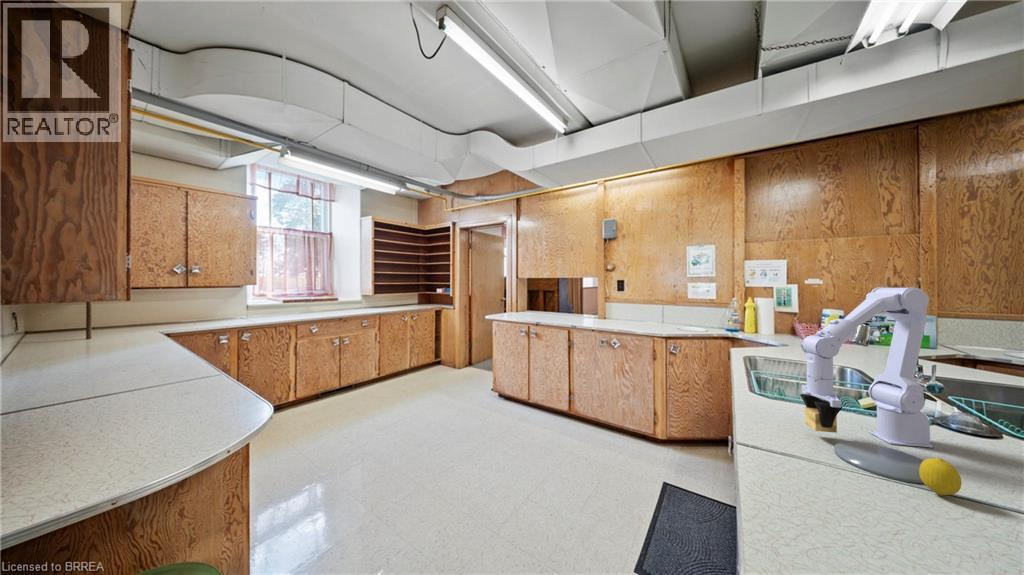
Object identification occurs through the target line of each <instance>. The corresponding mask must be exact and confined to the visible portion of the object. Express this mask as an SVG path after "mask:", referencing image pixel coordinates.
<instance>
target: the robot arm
mask: <svg viewBox="0 0 1024 575" xmlns="http://www.w3.org/2000/svg"><path fill="white" fill-rule="evenodd" d="M865 297H866V298H865V299H864V300H863V301H862V302H861V303H860V304H858V306H856V307H855V308H854V309H853V310H852V311H851V312H849V314H847V315H846V316H845V317H843V318H835V319H831V320H829V323H828V324H827V325H826V326H825V327H823V328H822V329H821V330H818V331H816V333H815V334H813V335H808V336H806V337H804V339H803V340H802V342H801V343H800V348H801V351H802V352H803V353H804V357H805V360H806V384H801V392H802V393H800V394H799V396H800V398H801V400H802V401H803V403H804V405H805V406H806V408H817V409H818V412H819V416H820V422H821V426H822V427H825V428H832V426H833V423H834V420H835V418H836V416H838V414H839V413H840V412H841V411H842V409H843V406H842V400H840V399H839V398H838V397H837V395H836V394H835V393H834V357H835V356H837V355H838V354H839V352H840V348H841V347H842V345H843V344H844V343H845V342H847V341H849V340H850V339H851V338H853V337H854V336H855V335H856V334H857V333H858V329H857V327H859V326H860V325H863V324H864V323H865V322H867V321H868V320H870V319H872V318H873V317H875V316H876V315H878V314H880V313H881V312H883V313H886V314H887V315H889V316H890V317H891V318H893V319H894V320H895V323H894V329H893V334H892V336H891V337H892V338H891V342H890V347H889V351H888V356H887V361H886V364H885V368H884V372H883V373H879V374H877V375H876V376H874V380H873V382H872V383H871V384H870V386H869V387H868V396H869V397H870V399H872V401H874V403H873V404H874V405H875V406H876V430H868V433H870V434H872V435H873V436H875V437H876V438H879V439H881V440H882V441H884V442H886V443H887V444H890V445H900V446H911V447H924V448H933V445H932V444H931V423H930V420H929V418H928V416H927V415H926V414H925V413H924V412H922V410H923V409H924V406H925V404H926V403H925V397H924V390H925V388H924V387H923V386H922V385H920V383H918V381H917V380H916V379H915V378H914V377H915V373H916V369H917V364H918V360H919V355H920V350H921V346H922V341H923V338H924V332H925V328H926V324H927V318H928V317H927V310H928V306H929V301H930V297H929V296H928V295H927V294H926V293H925V291H923V290H922V289H921V288H919V287H915V286H910V287H885V286H878V287H876V288H874V289H872V290H871V292H868V293H867V294H866V296H865Z"/></svg>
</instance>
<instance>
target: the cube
mask: <svg viewBox="0 0 1024 575" xmlns="http://www.w3.org/2000/svg"><path fill="white" fill-rule="evenodd" d="M804 414H805V416H804V417H805V418H804V419H805V420H804V421H805V422H804V424H805V425H806V426H808V427H809V428H811V429H812V430H813V431H814V432H822V433H823V432H825V433H834V434H835V433H836V434H837V432H838V428H837V427H838V426H837V425H838V424H837V423H838V421H837V420H838V419H837V416H838V415H837V416H836V418H835V420H834V423H833V426H832V428H825V427H822V426H821V422H820V416H819V412H818V409H817V408H806V407H804Z"/></svg>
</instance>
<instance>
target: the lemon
mask: <svg viewBox="0 0 1024 575" xmlns="http://www.w3.org/2000/svg"><path fill="white" fill-rule="evenodd" d="M923 460H924V461H923V462H922V463H921V465H920V468H919V475H920V478H921V480H922V482H923V483H924V484H923V485H924V486H926V488H928V489H930V491H932V492H935V493H936V495H938V496H940V495H941V497H942V496H947V495H949V496H951V495H955V494H957V493H958V492H960V490H961V488H962V478H961V475H960V472H959V471H958V470H957V468H956V467H955V466H954V465H952V464H951V463H949V462H948V461H946V460H944V459H943V458H941V457H936V458H934V457H933V458H926V459H923Z"/></svg>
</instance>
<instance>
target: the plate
mask: <svg viewBox="0 0 1024 575" xmlns="http://www.w3.org/2000/svg"><path fill="white" fill-rule="evenodd" d="M833 448H834V450H833V451H834V453H835V454H834V455H836V456H837V457H838V458H839V459H840V460H842V461H844V462H845V463H847V464H848V465H851V466H853V467H855V468H858V469H860V470H862V471H864V472H868V473H870V474H874V475H877V476H880V477H883V478H886V479H891V480H894V481H898V482H904V483H909V484H916V483H923V482H922V480H921V478H920V475H919V468H920V465H921V463H922V462H923V461H924V460H925V459H922V458H920V457H917V456H915V455H913V454H909V453H907V452H903V451H900V450H897V449H893V448H890V447H886V446H882V445H877V444H872V443H866V442H858V441H857V442H856V441H842V442H838V443H836V444H835V445H834V447H833Z"/></svg>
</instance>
